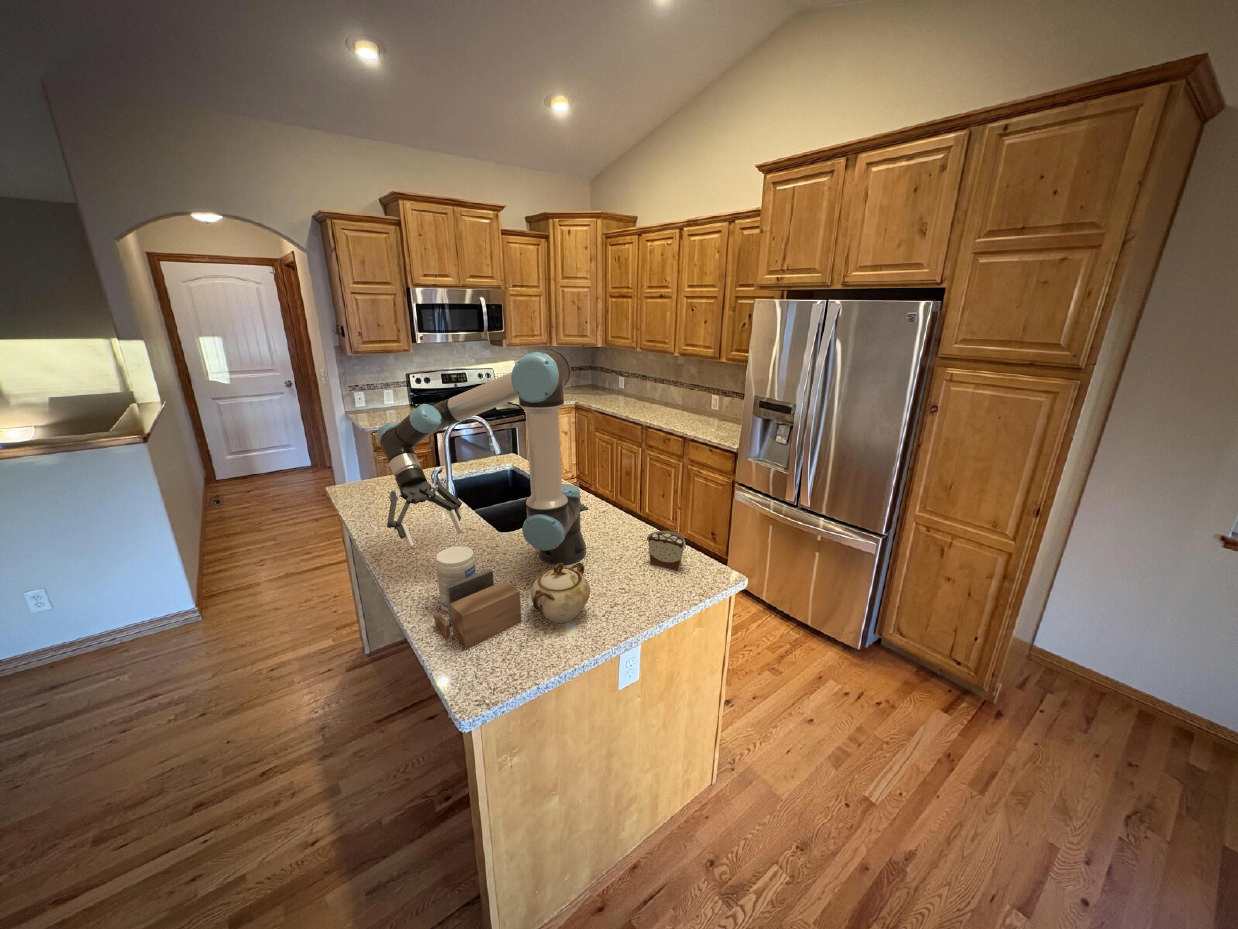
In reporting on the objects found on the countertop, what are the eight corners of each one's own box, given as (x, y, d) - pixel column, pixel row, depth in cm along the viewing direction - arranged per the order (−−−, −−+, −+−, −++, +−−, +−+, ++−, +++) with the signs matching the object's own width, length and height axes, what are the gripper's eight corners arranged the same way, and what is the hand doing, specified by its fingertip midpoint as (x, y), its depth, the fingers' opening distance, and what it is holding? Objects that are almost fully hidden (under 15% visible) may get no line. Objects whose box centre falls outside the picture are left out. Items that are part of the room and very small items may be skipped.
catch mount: (435, 626, 119) (431, 595, 117) (499, 598, 131) (497, 569, 129) (460, 652, 111) (456, 619, 108) (526, 619, 123) (524, 589, 120)
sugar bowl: (559, 645, 114) (557, 589, 109) (512, 623, 121) (509, 570, 117) (605, 604, 130) (606, 554, 125) (562, 587, 137) (561, 539, 132)
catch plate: (448, 619, 120) (444, 584, 117) (491, 600, 128) (488, 567, 125) (452, 623, 119) (448, 588, 116) (495, 604, 127) (492, 570, 124)
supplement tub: (477, 612, 125) (473, 561, 121) (438, 616, 123) (433, 565, 119) (479, 591, 134) (475, 544, 130) (443, 595, 132) (437, 547, 128)
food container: (689, 564, 151) (691, 535, 148) (683, 573, 145) (685, 543, 142) (652, 555, 155) (653, 527, 152) (645, 564, 150) (646, 534, 147)
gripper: (447, 470, 147) (475, 531, 141) (359, 489, 130) (386, 559, 125) (453, 457, 141) (483, 520, 136) (362, 476, 125) (391, 548, 119)
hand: (436, 539), depth 130 cm, fingers open, 13 cm apart
